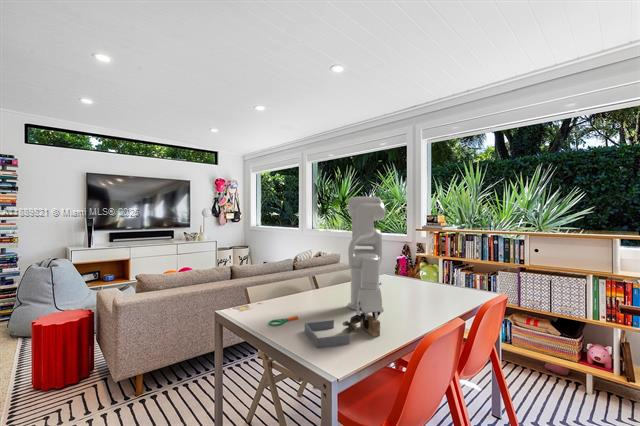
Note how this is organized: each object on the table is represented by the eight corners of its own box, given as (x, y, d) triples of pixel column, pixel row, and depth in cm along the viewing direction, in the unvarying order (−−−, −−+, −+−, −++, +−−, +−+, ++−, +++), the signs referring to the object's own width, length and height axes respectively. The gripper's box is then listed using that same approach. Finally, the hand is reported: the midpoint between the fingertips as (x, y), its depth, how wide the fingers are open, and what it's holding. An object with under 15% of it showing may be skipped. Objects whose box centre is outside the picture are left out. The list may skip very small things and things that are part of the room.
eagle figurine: (362, 332, 130) (366, 321, 138) (352, 318, 130) (356, 308, 138) (347, 339, 133) (352, 328, 141) (338, 325, 133) (343, 315, 141)
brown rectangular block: (366, 325, 141) (366, 312, 141) (379, 335, 130) (380, 321, 130) (360, 326, 140) (360, 313, 140) (373, 336, 129) (373, 322, 129)
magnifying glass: (272, 328, 139) (272, 324, 139) (266, 324, 143) (266, 320, 143) (300, 321, 148) (300, 317, 148) (293, 317, 153) (294, 314, 153)
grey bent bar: (333, 327, 139) (333, 319, 139) (349, 343, 122) (349, 334, 122) (304, 331, 134) (304, 323, 134) (317, 348, 118) (317, 338, 118)
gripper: (382, 282, 141) (381, 322, 141) (349, 284, 135) (348, 326, 135) (391, 286, 134) (390, 328, 134) (356, 289, 128) (356, 333, 128)
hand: (369, 327), depth 135 cm, fingers closed on brown rectangular block, 3 cm apart
